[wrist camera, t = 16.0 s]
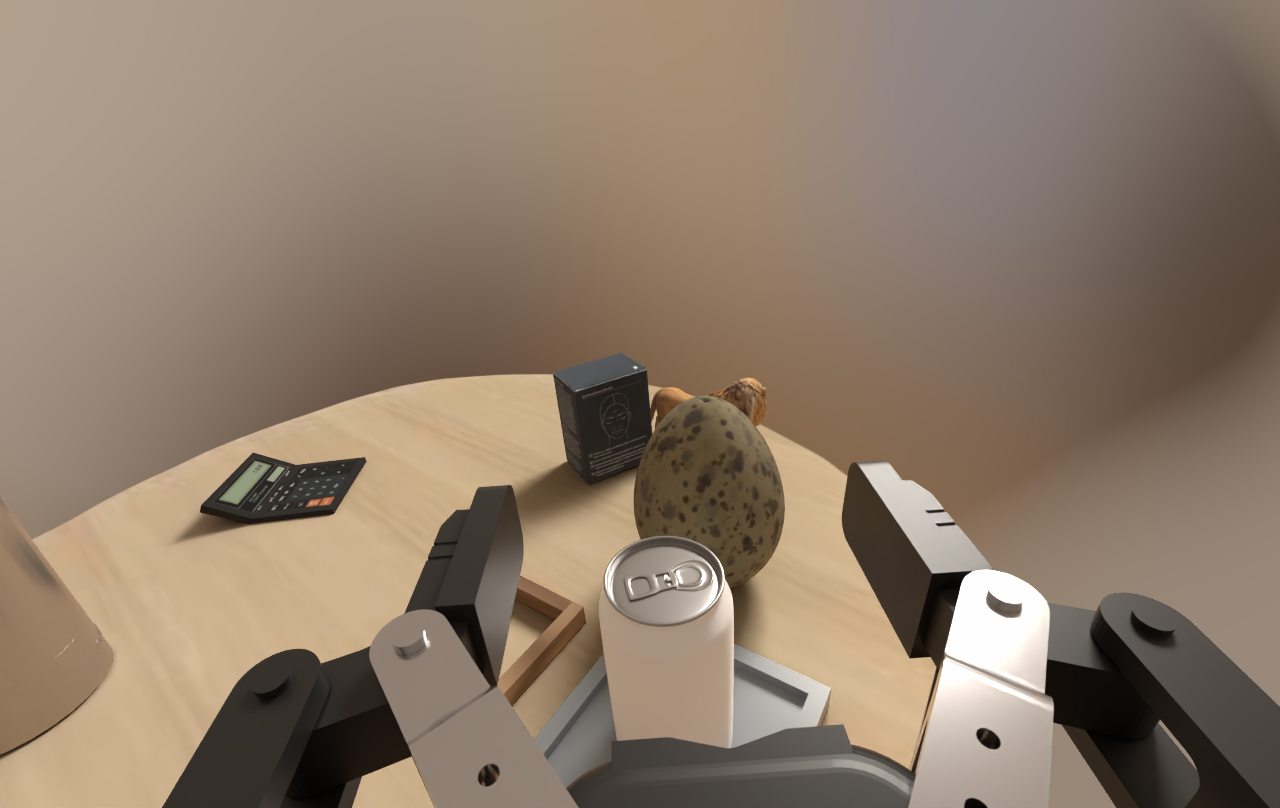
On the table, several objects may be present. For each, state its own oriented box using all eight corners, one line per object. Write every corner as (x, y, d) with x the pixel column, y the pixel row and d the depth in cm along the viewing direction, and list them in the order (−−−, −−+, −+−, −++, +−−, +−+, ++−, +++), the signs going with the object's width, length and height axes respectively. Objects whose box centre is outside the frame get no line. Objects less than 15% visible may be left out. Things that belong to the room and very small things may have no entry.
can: (751, 778, 29) (757, 613, 23) (630, 813, 28) (606, 649, 22) (709, 671, 34) (707, 519, 29) (608, 697, 33) (585, 544, 28)
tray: (736, 953, 23) (737, 937, 23) (516, 783, 30) (512, 766, 29) (828, 704, 33) (831, 687, 32) (645, 617, 40) (644, 602, 39)
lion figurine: (771, 449, 58) (774, 371, 54) (758, 477, 54) (761, 394, 50) (644, 428, 64) (638, 356, 60) (624, 451, 60) (616, 375, 56)
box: (629, 438, 62) (621, 351, 57) (655, 461, 58) (649, 368, 53) (565, 460, 59) (551, 370, 54) (587, 486, 54) (574, 390, 50)
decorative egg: (645, 526, 48) (632, 369, 42) (770, 526, 47) (778, 365, 40) (634, 626, 39) (615, 444, 32) (791, 628, 38) (805, 440, 31)
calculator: (334, 516, 54) (324, 490, 52) (210, 531, 53) (196, 505, 51) (367, 463, 62) (359, 440, 60) (259, 476, 61) (249, 453, 60)
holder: (479, 742, 32) (474, 726, 32) (378, 666, 37) (372, 651, 37) (585, 622, 40) (583, 607, 39) (489, 572, 45) (485, 558, 44)
